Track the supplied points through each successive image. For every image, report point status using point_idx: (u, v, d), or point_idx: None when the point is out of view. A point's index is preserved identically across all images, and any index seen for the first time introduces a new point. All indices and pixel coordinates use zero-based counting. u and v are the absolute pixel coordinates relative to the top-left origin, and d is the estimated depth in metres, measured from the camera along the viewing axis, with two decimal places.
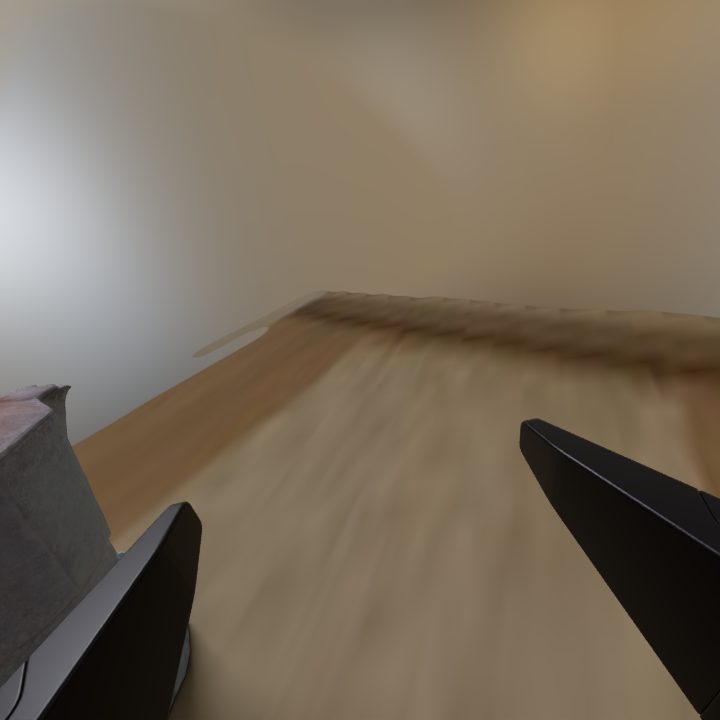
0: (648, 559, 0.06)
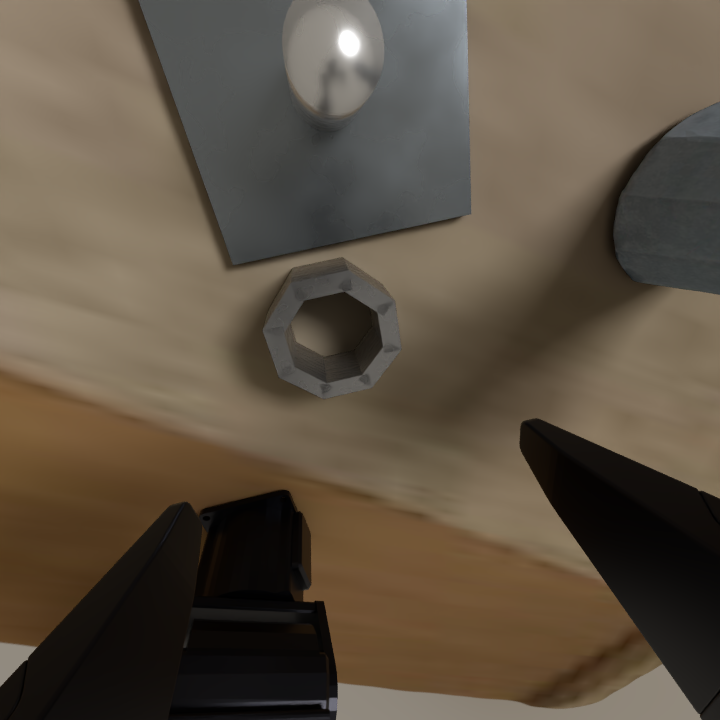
0: (648, 559, 0.06)
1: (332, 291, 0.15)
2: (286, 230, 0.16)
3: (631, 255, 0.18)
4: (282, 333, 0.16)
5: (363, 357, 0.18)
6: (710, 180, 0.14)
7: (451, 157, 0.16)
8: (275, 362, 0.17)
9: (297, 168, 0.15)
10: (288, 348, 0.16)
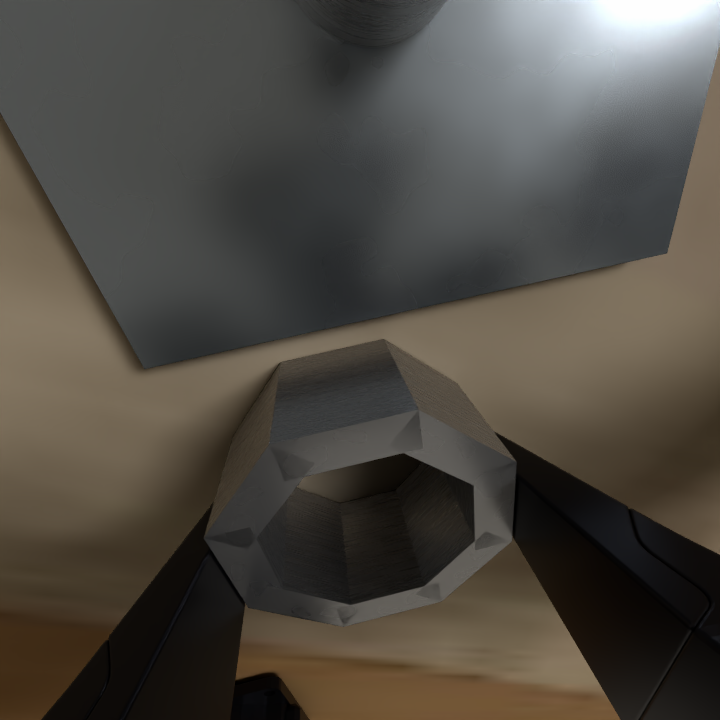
0: (579, 577, 0.06)
1: (374, 455, 0.06)
2: (263, 295, 0.07)
3: None
4: (252, 539, 0.07)
5: (420, 529, 0.09)
6: None
7: (658, 125, 0.07)
8: (239, 586, 0.07)
9: (287, 148, 0.06)
10: (267, 560, 0.07)
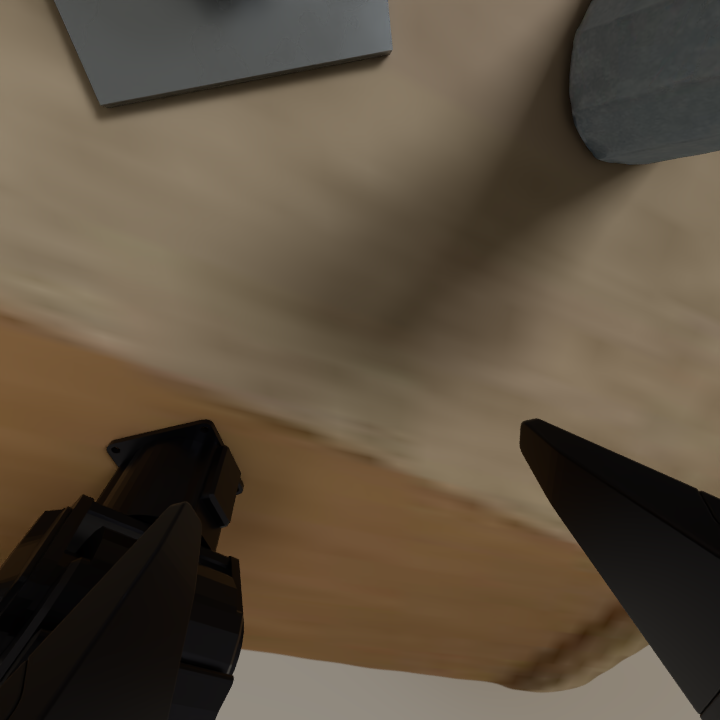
0: (648, 559, 0.06)
1: None
2: (162, 58, 0.13)
3: (590, 113, 0.15)
4: None
5: None
6: None
7: None
8: None
9: None
10: None
